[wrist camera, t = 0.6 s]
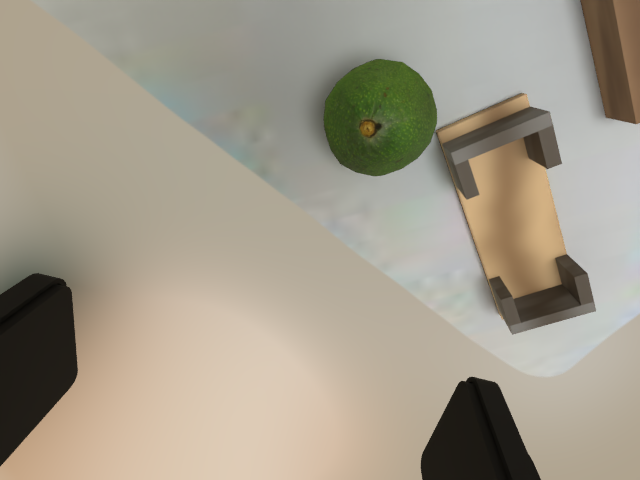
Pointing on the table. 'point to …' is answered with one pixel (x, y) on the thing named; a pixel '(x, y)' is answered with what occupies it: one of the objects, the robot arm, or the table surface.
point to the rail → (516, 212)
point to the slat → (616, 54)
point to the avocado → (379, 117)
